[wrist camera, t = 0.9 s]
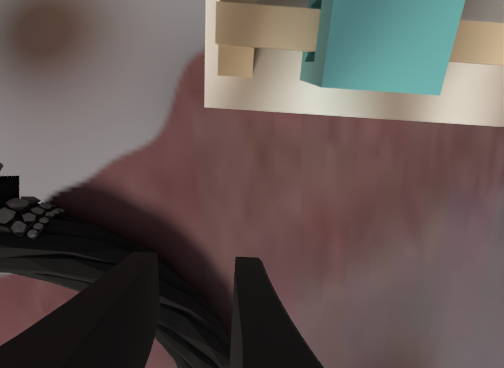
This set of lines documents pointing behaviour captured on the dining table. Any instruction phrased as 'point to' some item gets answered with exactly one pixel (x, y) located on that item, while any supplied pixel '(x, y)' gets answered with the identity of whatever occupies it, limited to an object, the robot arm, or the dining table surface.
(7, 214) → the cable lock
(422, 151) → the dining table surface
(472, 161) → the dining table surface
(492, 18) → the rail
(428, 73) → the slider
